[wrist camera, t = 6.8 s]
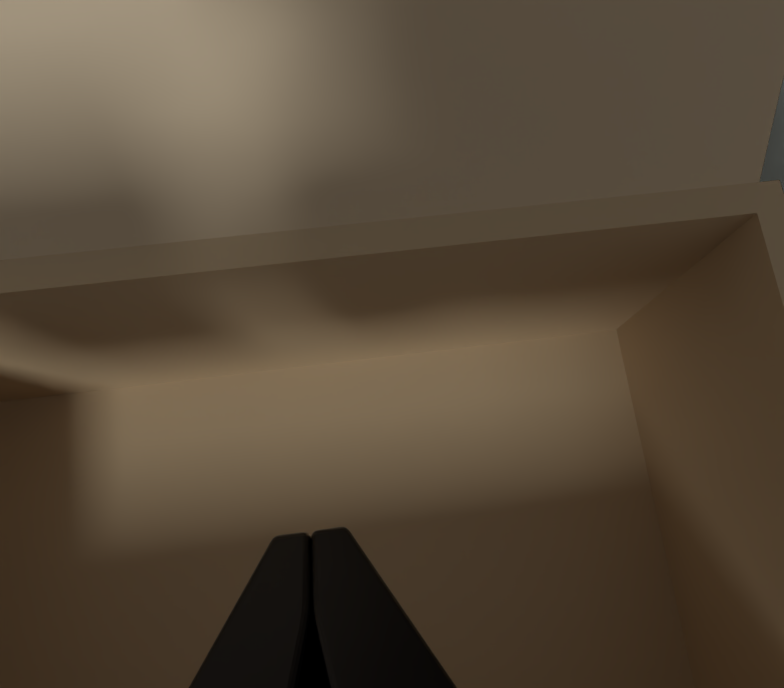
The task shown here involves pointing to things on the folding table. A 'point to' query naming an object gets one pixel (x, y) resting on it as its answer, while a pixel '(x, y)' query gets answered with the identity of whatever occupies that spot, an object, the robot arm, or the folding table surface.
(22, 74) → the carton flap
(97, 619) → the carton
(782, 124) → the folding table surface
